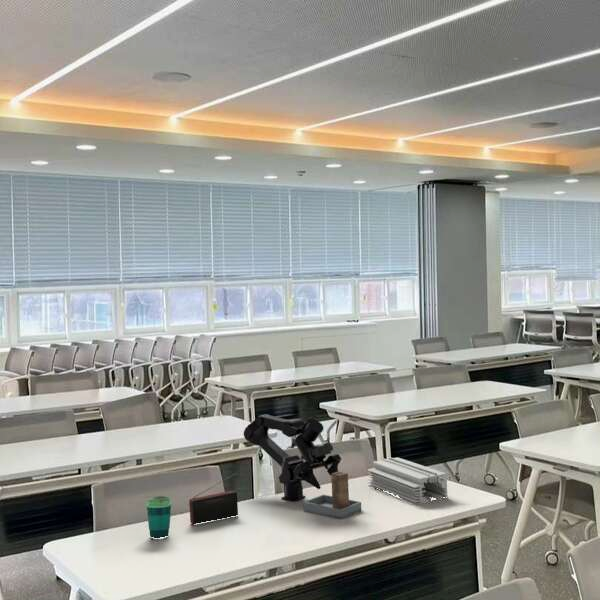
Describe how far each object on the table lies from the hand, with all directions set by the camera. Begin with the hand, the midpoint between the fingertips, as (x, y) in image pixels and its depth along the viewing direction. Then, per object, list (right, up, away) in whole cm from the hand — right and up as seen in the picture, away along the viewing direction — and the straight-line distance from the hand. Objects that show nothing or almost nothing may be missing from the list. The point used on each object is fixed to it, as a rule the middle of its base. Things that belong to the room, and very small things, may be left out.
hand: (329, 485), depth 274 cm
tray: (+1, -8, -1) cm, 9 cm away
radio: (-38, -11, -5) cm, 40 cm away
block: (+4, -8, -4) cm, 9 cm away
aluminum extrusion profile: (+29, -7, +18) cm, 35 cm away
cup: (-55, -12, -20) cm, 60 cm away
